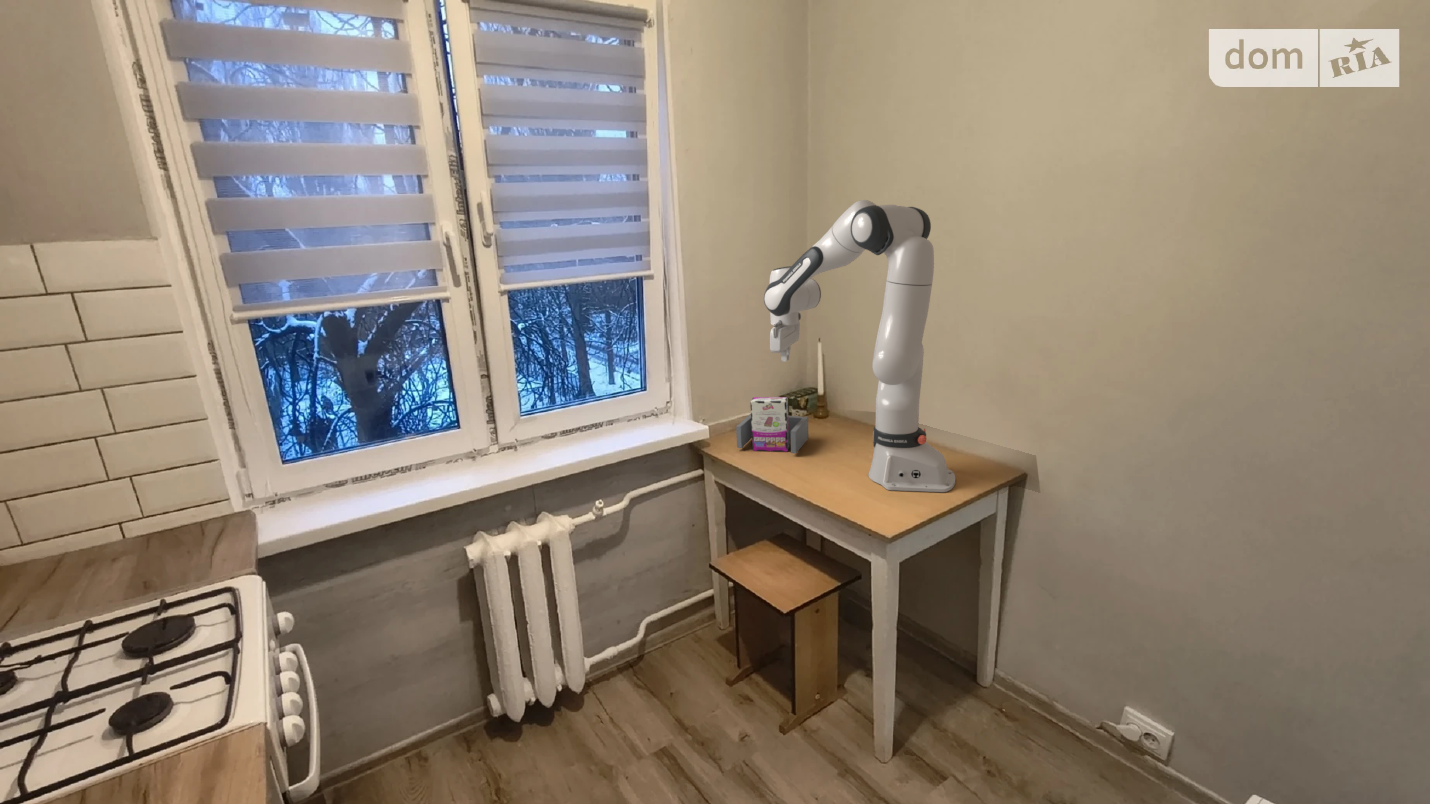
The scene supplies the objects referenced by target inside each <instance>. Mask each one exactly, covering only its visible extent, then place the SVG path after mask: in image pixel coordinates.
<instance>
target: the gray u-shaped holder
mask: <svg viewBox="0 0 1430 804" xmlns="http://www.w3.org/2000/svg"><path fill="white" fill-rule="evenodd" d="M788 420H789V439H790V453H791V454H797V453H798V451H799V450H800V449H801V448H802V447H803V446H804V444H805V443H806V442H807V441H808V440H809V416H798V415H788ZM735 427H736V428H735V431H736V432H735V433H736V448H737V449H743V448H744V446H745V445H747V443H749V441H751V440H752V423H751V413H750V414H748V415H747V416H746V417H745V418H744V419H743V420H742V421H741V422H739V423H738V424H737V425H736V426H735Z"/></svg>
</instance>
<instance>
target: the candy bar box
mask: <svg viewBox="0 0 1430 804" xmlns="http://www.w3.org/2000/svg"><path fill="white" fill-rule="evenodd" d="M750 414H751V423H752V438H751V441H752V451H753V452H779V453H781V452H783V453H784V452H785V453H787V452H788V451H789V448H790V438H789V420H788V416H789V398H788V397H786V396H785V397H783V396H780V397H779V396H778V397H777V396H776V397H775V396H771V397H769V396H765V397H763V396H762V397H761V396H759V397H757V396H756V397H752V398H751V400H750Z"/></svg>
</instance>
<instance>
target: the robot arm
mask: <svg viewBox="0 0 1430 804" xmlns="http://www.w3.org/2000/svg"><path fill="white" fill-rule="evenodd" d="M931 223H932V222H931V220H930V217H929V215H928V214H927V212H925V210H923V209H921V208H919V207H915V206H903V205H896V204H883V205H882V204H880V205H877V204H876V203H874V202H873V201H870V200H868V199H867V200H866V199H861V200H860V199H859V200H858V201H855V202H854V203H853V204H852V205H850V206H849V207H848V208H847V209H846V210H845V211H844V212H843V213H842V214H841V215H840V216H838V218H837V219H836V221H834V223H833V224H832V226H830V228H829V229H828V231H826V232H825V233H824V235H823V236H821V238H820V239H819V240H818V241H817V242H816V243H814V244H813V245H812V246H811V247H810V248H808V249H807V250H806V251H805V252H804V253H803V254H801V256H799V258H797V260H796V261H795V262H794V263H793V264H792V265H790V266H782V267H777V268H773V270H771V272H770V275H769V283H768V285H767V287H766V289H765V291H764V294H763V295H764V296H763V303H764V305H765V308H766V309H767V310H768V312H769V315H770V317H769V319H770V325H771V326H773V327H772V328H771V329H770V332H769V333H770V334H769V350H770V352H771V353H772V354H773V353H774V354H777V353H778V354H780V356H781V358H780V359H781V362H785V363H786V362H787V361H789V360H790V352H791V347H792V345H794V344H795V343H797V342H798V341H799V338H800V326H801V325H800V324H801V323H800V320H802V319H801V318H802V314H801V312H803V311H808V310H812V309H814V308H816V307H817V306H818V305H819V304H820V301H821V297H822V292H821V291H822V290H821V287H820V284H819V283H818V282H817V281H816V280H815V279H814V278H813V277H815V276H817V275H819V274H822V273H825V272H828V271H832V270H836V269H839V268H843V267H846V266H848V265H849V264H851V263H853V262H854V261H856V260H857V258H859V257H860V256H861V255H862V254H863V253H864V251H865V250H866V251H869V252H871V253H872V254H873V255H876V256H880V255H882V254H884V255H885V256H886V258H887V262H888V265H887V266H888V267H887V273H886V279H885V289H884V294H883V295H884V296H883V302H882V303H883V304H882V311H881V316H880V320H879V326H878V329H877V333H876V334H877V335H876V340H875V345H874V350H873V356H872V363H871V365H872V366H871V367H872V373H873V374H874V376H875V377H876V379H877V380H878V382H877V383H878V384H877V391H876V396H875V425H874V427H873V431H872V444H873V455H872V459H871V464H870V465H871V466H870V469H869V471H868V477H869V479H870V480H871V481H872V482H874V483H876V484H879V485H881V486H882V487H883V488H885V489H886V490H888V491H901V492H903V491H905V492H929V493H930V492H931V493H946V492H949V491H951V490H952V489H953V488H954V487H955V485H956V474H955V473H954V471H952V470H951V469H950V468H948V467H947V462H946V458H945V456H944V454H943V453H942V452H941V451H939V450H938V449H936V448H935V447H934V446H932V445H931V444H929V443H928V442H927V432H926V428H923V429H922V428H920V426H919V422H920V421H919V419H920V418H919V416H920V415H919V414H920V400H921V399H920V397H921V388H922V378H923V368H924V367H923V366H924V356H925V355H924V353H925V351H924V350H925V349H924V345H923V337H924V332H925V328H926V323H927V318H928V314H929V307H930V300H931V293H932V287H933V280H934V269H935V262H934V261H935V255H934V252H935V251H934V245H933V244H932V241H930V240H929V239H928V238H929V236H930V233H931V227H932V224H931Z"/></svg>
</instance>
